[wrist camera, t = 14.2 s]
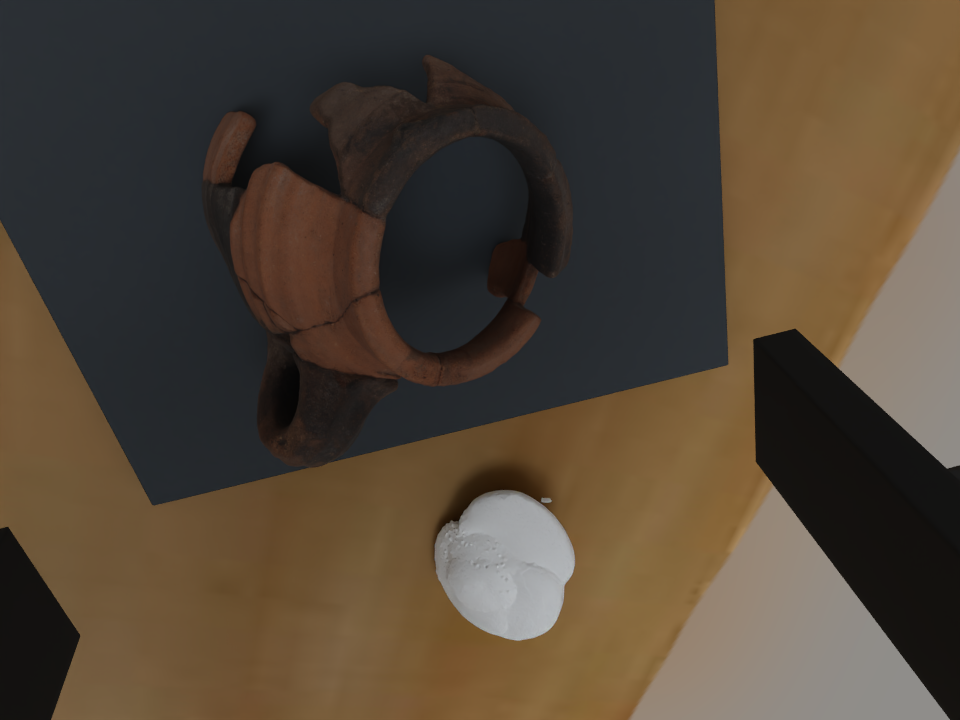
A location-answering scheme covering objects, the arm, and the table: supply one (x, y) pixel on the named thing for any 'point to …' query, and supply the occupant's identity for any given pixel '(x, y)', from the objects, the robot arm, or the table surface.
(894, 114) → the table surface
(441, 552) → the white foraminifera shell
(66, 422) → the table surface
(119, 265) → the placemat
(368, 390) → the brown piece
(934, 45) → the table surface
